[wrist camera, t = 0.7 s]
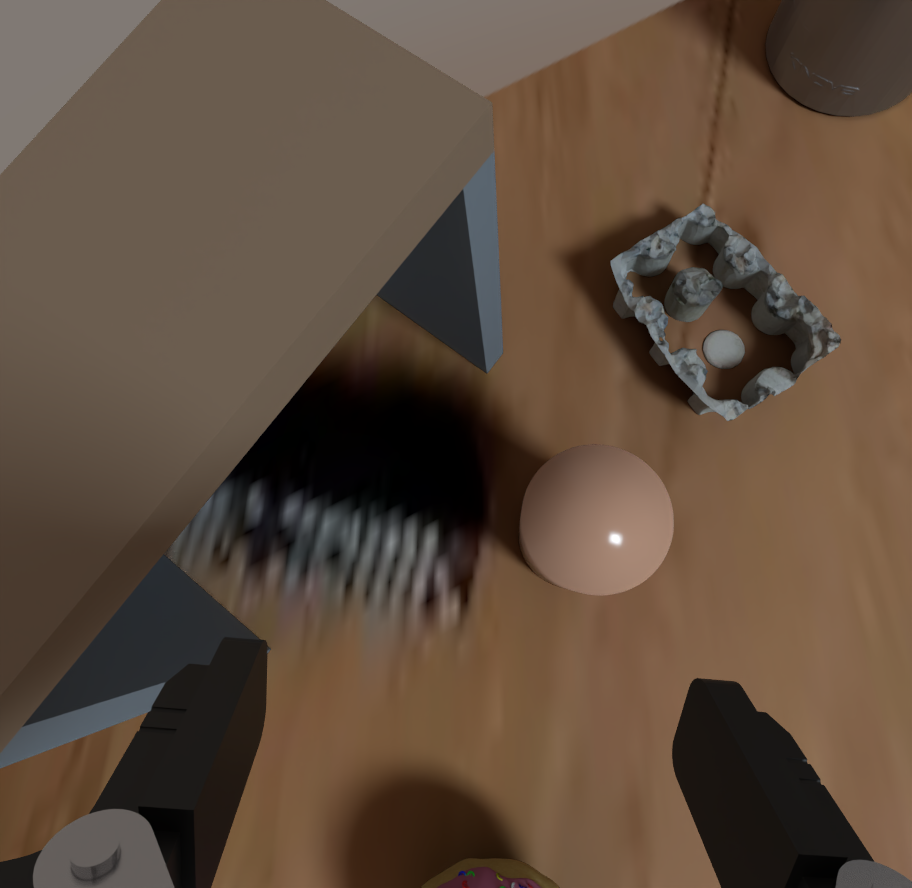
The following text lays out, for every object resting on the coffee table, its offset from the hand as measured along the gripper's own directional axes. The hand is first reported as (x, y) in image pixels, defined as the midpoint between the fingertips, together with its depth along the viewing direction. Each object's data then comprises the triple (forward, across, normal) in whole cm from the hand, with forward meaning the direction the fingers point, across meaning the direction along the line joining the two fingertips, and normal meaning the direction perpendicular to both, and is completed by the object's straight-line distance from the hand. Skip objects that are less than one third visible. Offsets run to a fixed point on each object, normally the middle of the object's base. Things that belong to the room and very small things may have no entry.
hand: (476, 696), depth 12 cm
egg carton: (+26, -14, -4) cm, 30 cm away
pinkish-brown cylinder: (+21, -7, +7) cm, 23 cm away
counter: (+24, +7, +5) cm, 26 cm away
